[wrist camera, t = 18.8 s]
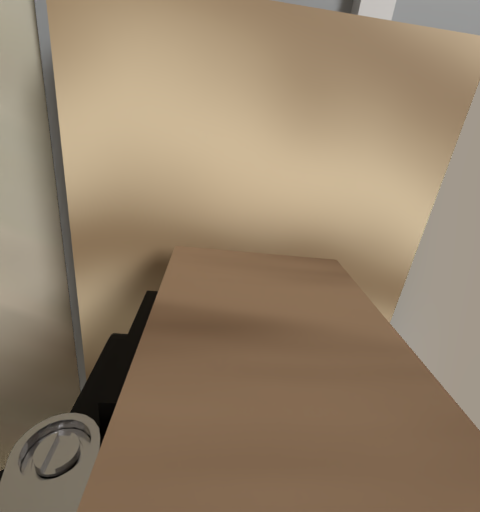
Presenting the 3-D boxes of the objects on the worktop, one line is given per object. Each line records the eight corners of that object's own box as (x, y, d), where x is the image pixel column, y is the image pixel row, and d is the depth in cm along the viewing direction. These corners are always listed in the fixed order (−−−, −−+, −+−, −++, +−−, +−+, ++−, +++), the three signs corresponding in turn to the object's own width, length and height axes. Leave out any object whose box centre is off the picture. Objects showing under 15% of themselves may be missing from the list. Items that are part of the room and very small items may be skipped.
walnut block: (305, 380, 12) (407, 697, 5) (170, 374, 11) (101, 715, 5) (336, 259, 10) (562, 530, 3) (175, 245, 9) (69, 531, 3)
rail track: (292, 555, 27) (295, 575, 26) (103, 558, 25) (97, 579, 24) (517, -99, 11) (555, -127, 9) (18, -208, 9) (-12, -258, 8)
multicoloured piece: (321, 398, 19) (398, 613, 10) (116, 390, 17) (24, 626, 9) (422, 59, 12) (879, -78, 4) (94, 8, 11) (-332, -373, 2)
